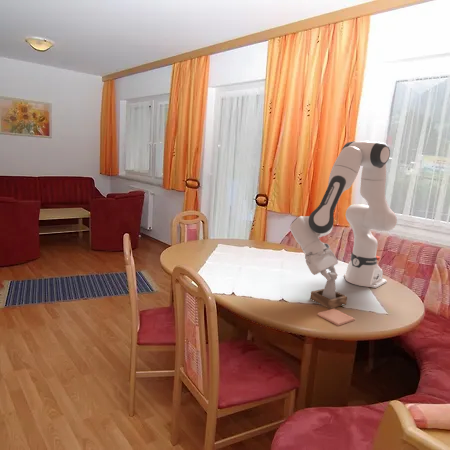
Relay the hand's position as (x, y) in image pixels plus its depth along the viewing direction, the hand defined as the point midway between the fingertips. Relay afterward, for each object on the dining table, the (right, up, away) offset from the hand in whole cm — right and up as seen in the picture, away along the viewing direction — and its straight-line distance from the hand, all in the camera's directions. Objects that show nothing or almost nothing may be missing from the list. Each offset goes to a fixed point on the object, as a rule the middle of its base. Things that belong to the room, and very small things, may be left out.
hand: (332, 278), depth 159 cm
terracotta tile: (-3, -14, -13) cm, 19 cm away
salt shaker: (-1, -11, +3) cm, 11 cm away
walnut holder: (-1, -10, +3) cm, 11 cm away
